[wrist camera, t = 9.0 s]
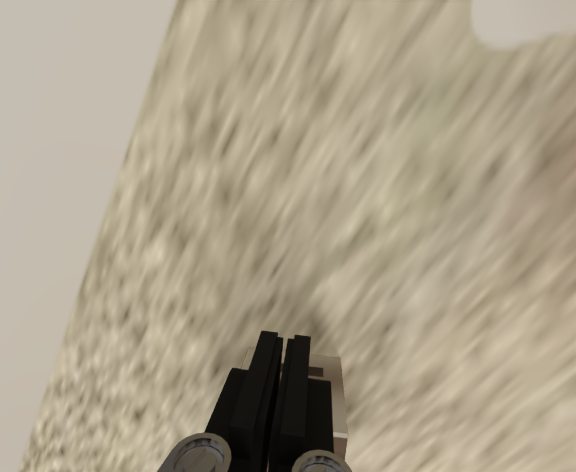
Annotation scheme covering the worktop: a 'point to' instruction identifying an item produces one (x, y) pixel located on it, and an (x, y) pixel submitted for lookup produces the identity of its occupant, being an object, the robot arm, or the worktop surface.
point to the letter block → (332, 372)
